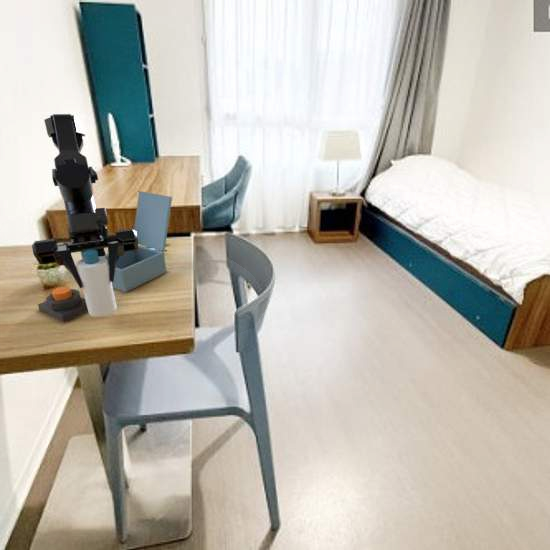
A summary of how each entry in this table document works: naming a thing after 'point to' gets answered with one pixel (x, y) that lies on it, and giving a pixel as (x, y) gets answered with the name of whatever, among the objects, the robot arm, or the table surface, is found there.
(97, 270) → the detergent bottle
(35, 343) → the table surface
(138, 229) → the blue-grey box lid
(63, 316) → the control block
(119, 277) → the blue open box
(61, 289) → the button
